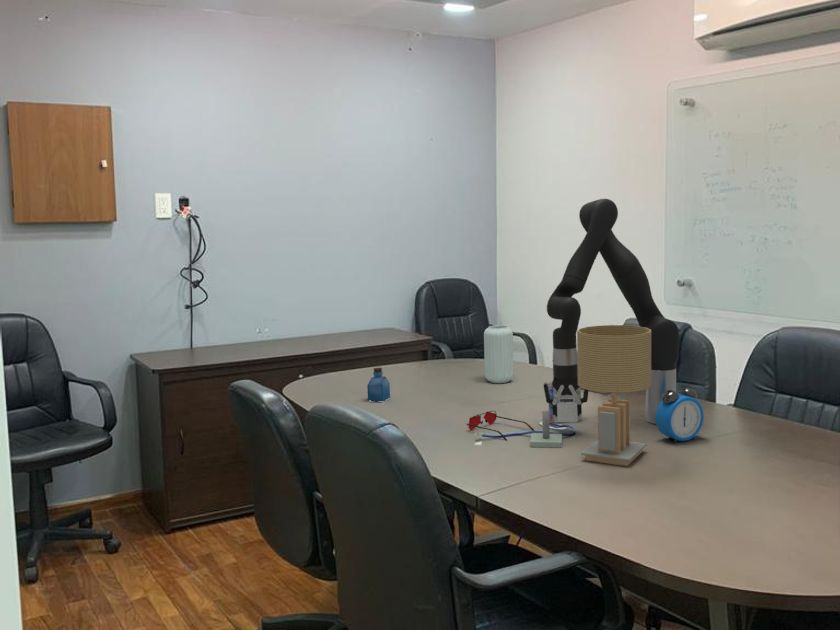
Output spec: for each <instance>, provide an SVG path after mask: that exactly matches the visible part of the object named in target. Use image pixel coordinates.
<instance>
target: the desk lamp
mask: <svg viewBox="0 0 840 630" xmlns="http://www.w3.org/2000/svg"><path fill="white" fill-rule="evenodd" d="M576 344H577V366H578V386H580V387H581V388H583V389H586V390H590V391H596V392H604V393H612V394H611V398H608V401H604V402H603V403H602V405H598V406H597V432H598V433H597V434H598V435H597V440H596V441H594V442H593V443H592V444H591V445H589V446H588V447H587V448H585V449H584V450H583V451H581V452H580V455H582V456H585V458H586V459H585V461H590V462H596V463H601V464H603V463H604V464H610V465H615V466H616V465H617V466H625V467H629V465H631V463H632V462H633V461H634V460H635V459H637V458H638V457H639V456H640V454H642V453H643V449H644V448H646V447H647V446H648V443H644V442H639V441H631V400H627V399H618V398H617V396H618V395H617V394H625V393H626V394H628V393H629V394H630V393H635V392H643V391H646V389H648V388H650V386H651V330H650V329H648V328H644V327H640V326H639V325H627V324H626V325H621V324H618V325H617V324H615V325H614V324H610V325H609V324H607V325H606V324H605V325H604V324H603V325H593V326H591V325H590V326H585V327H581V328H578V329H577V332H576Z"/></svg>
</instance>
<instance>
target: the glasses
mask: <svg viewBox="0 0 840 630" xmlns="http://www.w3.org/2000/svg"><path fill="white" fill-rule="evenodd" d="M482 415H484V416H482ZM482 418H483V419H484V420H481V419H482ZM497 418H500V419H503V420H509V421H513V422H518V423H523V424H525V425H527V427H528V428H529V429H530V430H531V431H533V432H536V430H535V429H534V428H533V427H532V426H531V425H530V424H528V423H527V422H525V421H522V420H518V419H512V418H508V417H504V416H498V414H497V411H496V410H490V411H488V410H487V411H485V412H483V413H479V414H476V415H473V416H470V417H469V420H468V423H466V424H465V425H466V426H468V427H467V428H468V430H469V431H470V432H472V431H473V430H474V429H476V428H479V429H483V430H487V431H492V432H496V433H498V434H499V435H500V436H501V437H502V438H503V439H504V441H505V442H507V441H508V439H507V438H506V436H504V434H503V433H502V432H501V431H499V430H496V429H492V428H488V427H484V426H480V425H483V422H485V423H486V424H489V425H493V424H494V423H495V421H496V420H497Z"/></svg>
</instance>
